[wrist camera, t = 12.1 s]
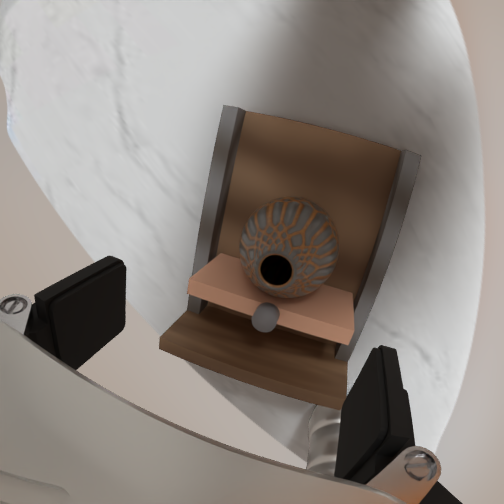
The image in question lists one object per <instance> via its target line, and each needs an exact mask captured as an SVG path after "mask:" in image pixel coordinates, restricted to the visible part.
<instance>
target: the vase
mask: <svg viewBox="0 0 504 504" xmlns="http://www.w3.org/2000/svg"><path fill="white" fill-rule="evenodd" d="M239 252H240V259H241V263H242V266H243V269H244V271H245V273H246V275H247V276H248V278H249V279H250V280H251V282H252V283H253V284H254V285H255V286H256V287H258V288H259V289H260V290H262V291H263V292H265V293H267V294H269V295H272V296H275V297H280V298H296V297H301V296H304V295H307V294H309V293H311V292H313V291H315V290H316V289H317V288H319V287H320V286H321V285H322V284H323V283H324V282H325V281H326V280H327V279H328V278H329V277H330V275H331V274H332V272H333V270H334V268H335V266H336V263H337V260H338V255H339V237H338V232H337V229H336V227H335V224H334V222H333V220H332V219H331V217H330V216H329V214H328V213H327V212H326V211H325V210H324V209H323V208H322V207H321V206H319V205H318V204H316V203H315V202H313V201H311V200H308V199H305V198H302V197H296V196H286V197H280V198H276V199H273V200H271V201H269V202H267V203H265V204H263V205H262V206H260V207H259V208H258V209H257V210H256V211H254V212H253V214H252V215H251V216H250V217H249V219H248V220H247V222H246V224H245V226H244V228H243V231H242V234H241V238H240V245H239Z"/></svg>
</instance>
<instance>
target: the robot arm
mask: <svg viewBox="0 0 504 504" xmlns="http://www.w3.org/2000/svg"><path fill="white" fill-rule="evenodd" d="M34 296H35V303H34V304H32V302H31V300H30V299H29V298H28V297H27V296H24V295H20V294H12V295H8V296H5V297H3V298H2V299H0V504H462V503H461V502H460V501H459V500H458V499H457V498H455V497H454V496H453V495H452V494H451V493H450V492H449V491H448V490H447V489H446V488H445V487H444V486H442V485H441V484H440V483H439V482H438V481H437V480H438V479H439V477H440V475H441V465H440V462H439V460H438V459H437V457H436V456H435V455H434V454H433V453H432V452H431V451H430V450H428V449H426V448H423V447H420V446H415V440H414V432H413V424H412V417H411V411H410V404H409V398H408V393H407V391H406V390H405V389H403V384H402V378H401V372H400V367H399V361H398V356H397V351H396V349H394V348H390V347H386V346H383V345H380V346H379V347H378V349H377V348H373V349H372V351H371V353H370V355H369V357H368V359H367V360H366V362H365V364H364V366H363V368H362V370H361V372H360V374H359V376H358V378H357V379H356V381H355V383H354V385H353V387H352V388H351V390H350V392H349V394H348V396H347V397H346V399H345V401H344V403H343V406H342V409H341V419H340V429H339V439H338V448H337V456H336V464H335V472H334V476H330V475H326V474H322V473H318V472H314V471H310V470H306V469H302V468H298V467H294V466H291V465H287V464H284V463H280V462H277V461H274V460H271V459H267V458H264V457H260V456H257V455H255V454H251V453H248V452H245V451H242V450H240V449H237V448H234V447H231V446H228V445H226V444H223V443H220V442H218V441H215V440H212V439H210V438H207V437H205V436H202V435H200V434H198V433H195V432H193V431H190V430H188V429H186V428H183V427H181V426H179V425H177V424H174V423H172V422H170V421H168V420H166V419H163V418H161V417H159V416H157V415H155V414H153V413H151V412H149V411H147V410H145V409H143V408H141V407H139V406H137V405H135V404H133V403H131V402H129V401H127V400H126V399H124V398H122V397H120V396H118V395H116V394H115V393H113V392H111V391H109V390H107V389H106V388H104V387H102V386H101V385H99V384H97V383H96V382H94V381H92V380H91V379H89V378H87V377H86V376H84V375H82V374H81V373H79V372H78V371H76V370H77V369H78V368H79V367H80V366H81V365H83V364H84V363H85V362H86V361H87V360H88V359H90V358H91V357H92V356H93V355H94V354H95V353H96V352H98V351H99V350H100V349H101V348H103V347H104V346H105V345H106V344H107V343H108V342H110V341H111V340H112V339H113V338H114V337H115V336H117V335H118V334H119V333H120V332H121V331H122V330H123V329H124V327H125V304H126V266H125V265H124V262H123V261H122V260H120V259H118V258H115V257H113V256H107V257H105V258H103V259H101V260H99V261H97V262H95V263H93V264H91V265H90V266H87V267H85V268H83V269H82V270H79V271H78V272H76V273H74V274H72V275H70V276H68V277H66V278H64V279H63V280H60V281H59V282H57V283H55V284H53V285H51V286H49V287H47V288H46V289H44V290H42V291H40V292H39V293H37V294H35V295H34Z"/></svg>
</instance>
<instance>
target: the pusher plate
mask: <svg viewBox="0 0 504 504" xmlns="http://www.w3.org/2000/svg"><path fill="white" fill-rule="evenodd" d="M187 294H190V295H193V296H196V297H198V298H201V299H204V300H207V301H210V302H212V303H215V304H218V305H221V306H224V307H227V308H230V309H233V310H236V311H239V312H242V313H245V314H248V315H251V316H252V324H253V326H254V327H255V328H256V329H257V330H258V331H260V332H270V331H272V330H273V329H274V328H275V326H276V324H278V325H282V326H285V327H288V328H291V329H294V330H298V331H301V332H304V333H308V334H311V335H314V336H318V337H321V338H324V339H328V340H331V341H335V342H338V343H342V344H345V345H349V342H350V340H351V338H352V336H353V333H354V308H353V293H351V292H348V291H344V290H341V289H338V288H334V287H331V286H328V285H324V284H322V285H321V286H320V287H319V288H317V289H316V290H315V291H313V292H311V293H309V294H307V295H304V296H301V297H296V298H280V297H275V296H272V295H269V294H267V293H265V292H263V291H262V290H260V289H259V288H258V287H256V286H255V285H254V284H253V283H252V282H251V280H250V279H249V278H248V276H247V275H246V273H245V271H244V269H243V266H242V263H241V259H239V258H236V257H232V256H229V255H226V254H223V253H220V254H219V255H218V256H216V257H215V258H214V259H213V260H212V261H210V262H209V263H208V264H207V265H205V266H204V267H203V268H202V269H200V270H199V271H198V272H197V273H196V274H194V275H193V276H192V277H191V278H189V284H188V291H187Z"/></svg>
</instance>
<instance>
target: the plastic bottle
mask: <svg viewBox="0 0 504 504" xmlns="http://www.w3.org/2000/svg"><path fill="white" fill-rule="evenodd" d="M346 397H347V396H346ZM341 409H342V408H341ZM340 419H341V410H336V409H332V408H328V407H324V406H320V405H317V406H316V408H315V409H314V411H313V413H312V415H311V418H310V420H309V426H308V438H309V451H308V462H307V467H306V470H310V471H314V472H318V473H322V474H326V475H330V476H334V472H335V464H336V456H337V448H338V439H339V429H340Z"/></svg>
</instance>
